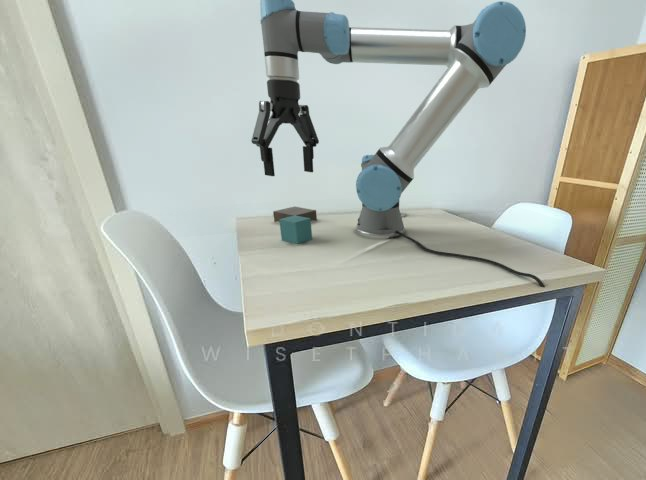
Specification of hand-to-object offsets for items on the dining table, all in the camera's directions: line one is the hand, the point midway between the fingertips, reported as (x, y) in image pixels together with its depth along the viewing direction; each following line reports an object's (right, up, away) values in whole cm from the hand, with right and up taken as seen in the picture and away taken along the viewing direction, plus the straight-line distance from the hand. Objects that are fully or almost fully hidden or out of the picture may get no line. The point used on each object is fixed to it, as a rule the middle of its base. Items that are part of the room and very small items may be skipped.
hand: (290, 173), depth 95 cm
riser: (-7, -7, +28) cm, 30 cm away
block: (0, -16, +7) cm, 18 cm away
